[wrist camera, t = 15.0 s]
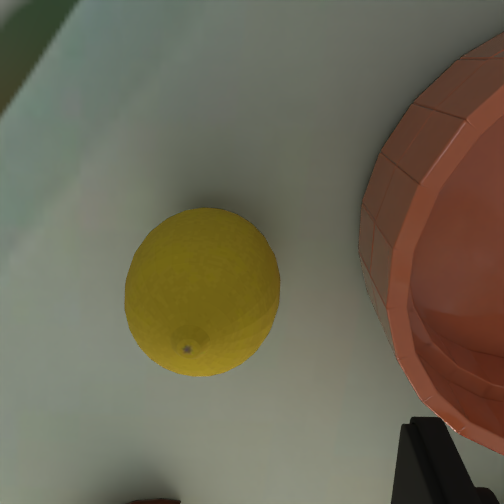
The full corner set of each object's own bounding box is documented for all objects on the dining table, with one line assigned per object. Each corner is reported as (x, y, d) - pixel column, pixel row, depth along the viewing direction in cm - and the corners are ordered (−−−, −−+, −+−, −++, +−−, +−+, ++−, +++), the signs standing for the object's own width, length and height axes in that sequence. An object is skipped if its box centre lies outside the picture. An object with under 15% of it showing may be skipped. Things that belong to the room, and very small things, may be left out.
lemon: (193, 159, 19) (148, 224, 12) (302, 229, 20) (323, 329, 13) (132, 260, 21) (60, 370, 14) (234, 319, 22) (219, 450, 15)
